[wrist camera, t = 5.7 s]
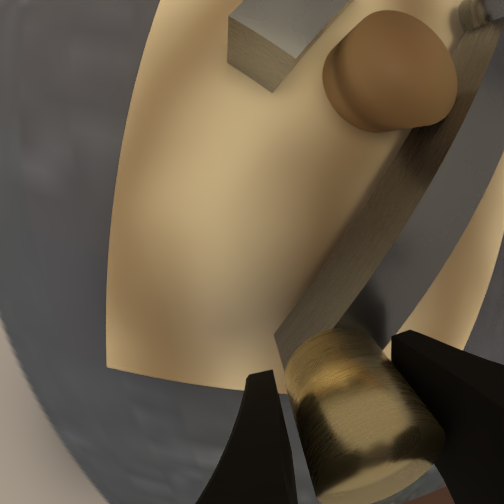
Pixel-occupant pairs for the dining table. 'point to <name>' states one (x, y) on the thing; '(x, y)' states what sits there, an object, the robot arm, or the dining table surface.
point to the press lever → (392, 287)
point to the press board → (254, 202)
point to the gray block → (276, 35)
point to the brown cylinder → (390, 74)
